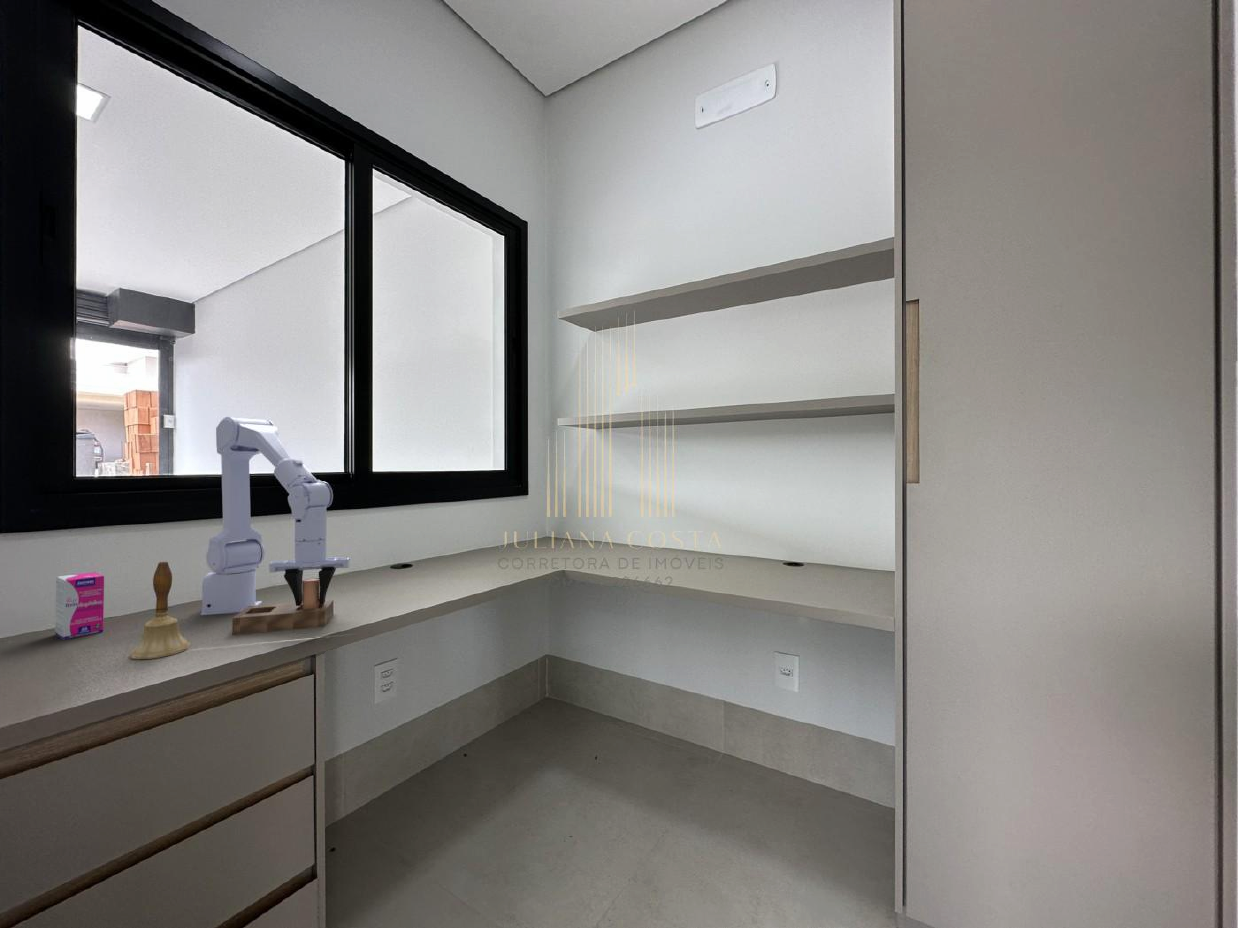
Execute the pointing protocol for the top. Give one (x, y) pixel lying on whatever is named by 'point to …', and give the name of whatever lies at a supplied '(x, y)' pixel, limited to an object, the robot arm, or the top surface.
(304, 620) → the hole block
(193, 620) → the top surface
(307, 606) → the peg
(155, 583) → the hand bell
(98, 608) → the supplement box
